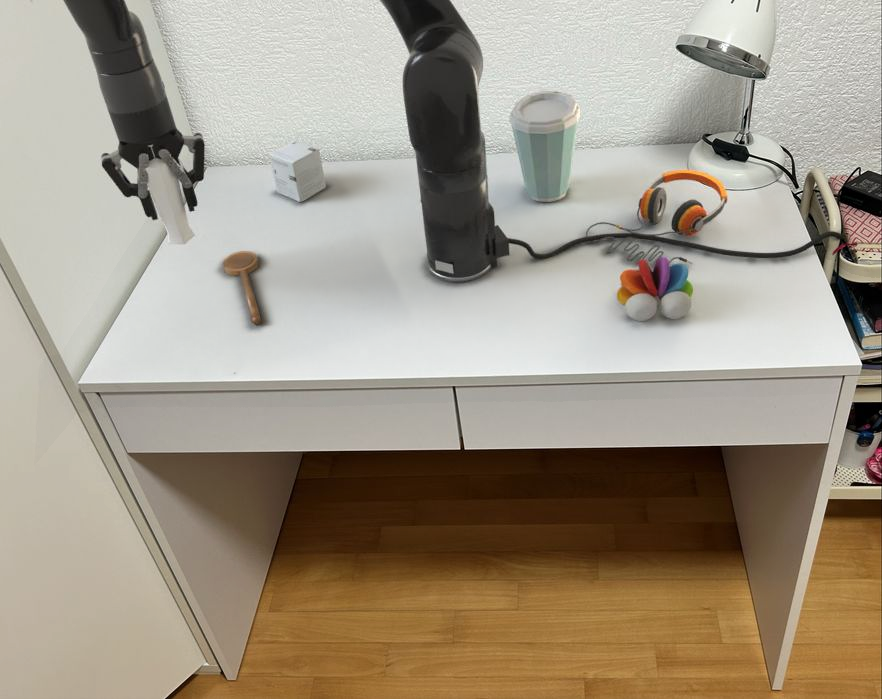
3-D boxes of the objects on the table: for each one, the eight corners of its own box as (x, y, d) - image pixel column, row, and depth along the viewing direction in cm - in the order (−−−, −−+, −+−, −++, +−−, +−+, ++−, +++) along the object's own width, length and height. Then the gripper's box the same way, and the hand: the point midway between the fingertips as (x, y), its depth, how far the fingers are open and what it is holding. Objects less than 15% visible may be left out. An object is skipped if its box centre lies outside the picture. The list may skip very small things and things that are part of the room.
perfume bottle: (201, 228, 126) (171, 133, 116) (191, 245, 122) (160, 149, 113) (170, 228, 126) (139, 134, 117) (160, 245, 123) (127, 150, 113)
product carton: (276, 193, 146) (267, 153, 141) (303, 177, 149) (294, 138, 144) (301, 203, 143) (292, 163, 138) (327, 187, 146) (319, 147, 141)
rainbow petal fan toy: (612, 288, 118) (614, 243, 113) (685, 284, 117) (690, 238, 112) (620, 327, 111) (623, 281, 107) (697, 323, 111) (703, 277, 106)
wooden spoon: (222, 260, 132) (220, 254, 131) (255, 252, 132) (254, 245, 132) (239, 331, 118) (237, 324, 117) (276, 321, 119) (275, 314, 118)
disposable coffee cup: (561, 215, 133) (561, 124, 123) (499, 201, 138) (495, 112, 128) (590, 183, 139) (592, 94, 130) (530, 170, 144) (528, 84, 135)
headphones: (574, 226, 125) (655, 145, 132) (579, 252, 129) (657, 172, 136) (674, 269, 116) (756, 179, 122) (675, 295, 120) (755, 207, 126)
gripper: (78, 121, 107) (123, 238, 118) (194, 97, 109) (227, 213, 120) (78, 98, 112) (120, 212, 123) (188, 75, 115) (220, 189, 126)
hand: (173, 212), depth 122 cm, fingers closed on perfume bottle, 4 cm apart
